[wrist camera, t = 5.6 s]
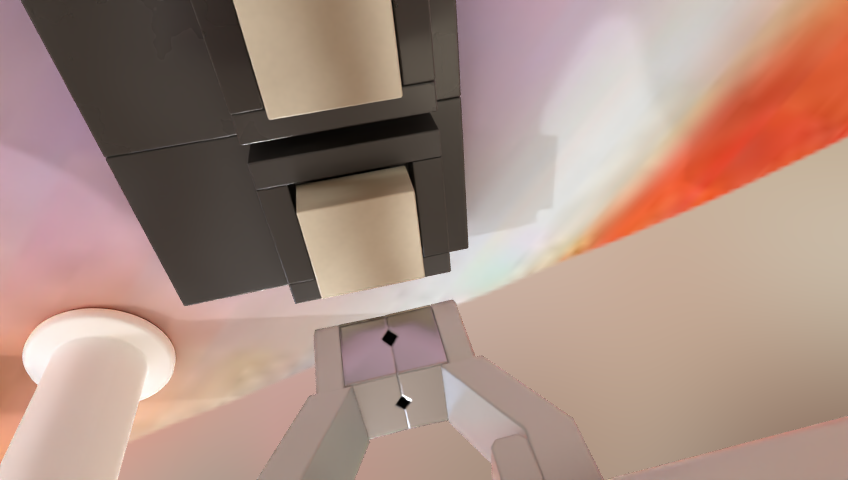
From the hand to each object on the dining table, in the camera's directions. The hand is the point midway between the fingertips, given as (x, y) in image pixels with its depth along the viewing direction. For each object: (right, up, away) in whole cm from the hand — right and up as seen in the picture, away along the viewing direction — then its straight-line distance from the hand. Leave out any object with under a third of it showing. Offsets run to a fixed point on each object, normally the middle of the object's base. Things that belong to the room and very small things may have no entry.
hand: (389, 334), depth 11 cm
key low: (-2, +3, +11) cm, 11 cm away
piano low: (-5, +5, +13) cm, 15 cm away
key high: (-3, +9, +6) cm, 11 cm away
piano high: (-5, +11, +8) cm, 15 cm away
